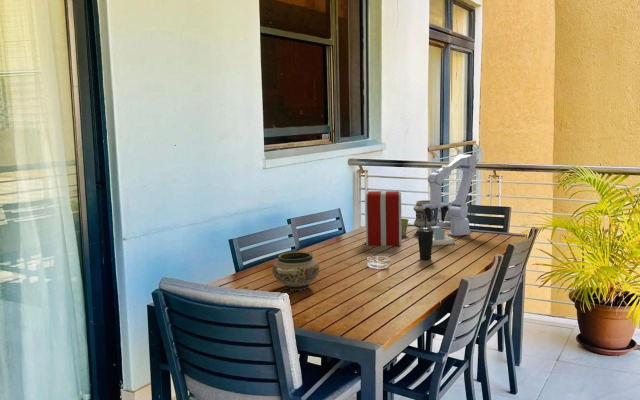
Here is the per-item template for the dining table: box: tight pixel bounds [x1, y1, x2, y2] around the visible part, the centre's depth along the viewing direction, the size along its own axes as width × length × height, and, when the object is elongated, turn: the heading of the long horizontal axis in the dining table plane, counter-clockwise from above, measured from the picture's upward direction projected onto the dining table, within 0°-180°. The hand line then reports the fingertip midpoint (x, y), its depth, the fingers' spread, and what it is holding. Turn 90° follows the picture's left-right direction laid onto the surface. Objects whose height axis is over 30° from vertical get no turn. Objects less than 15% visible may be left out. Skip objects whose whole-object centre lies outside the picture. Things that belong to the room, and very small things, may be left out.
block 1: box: [430, 225, 441, 234], centre depth 316 cm, size 4×4×6 cm
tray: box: [432, 234, 455, 247], centre depth 306 cm, size 12×15×2 cm
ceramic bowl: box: [272, 251, 320, 291], centre depth 228 cm, size 24×18×15 cm
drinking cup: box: [416, 216, 434, 261], centre depth 268 cm, size 8×8×20 cm
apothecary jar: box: [413, 199, 437, 235], centre depth 330 cm, size 12×12×18 cm
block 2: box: [434, 228, 446, 240], centre depth 303 cm, size 4×4×6 cm
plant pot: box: [401, 218, 410, 237], centre depth 326 cm, size 9×9×9 cm
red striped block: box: [365, 190, 403, 247], centre depth 307 cm, size 17×18×27 cm
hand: (436, 221), depth 313 cm, fingers open, 7 cm apart
